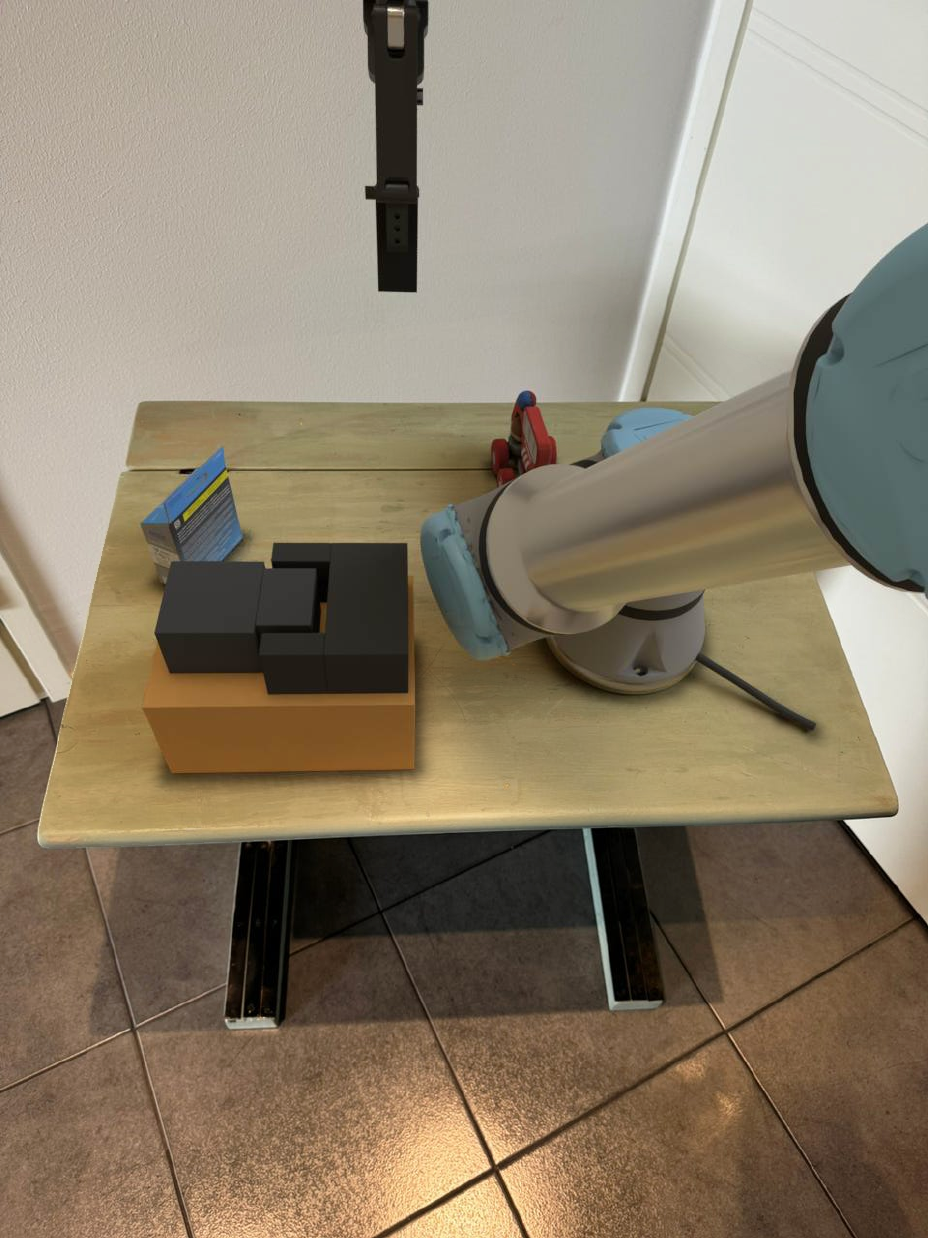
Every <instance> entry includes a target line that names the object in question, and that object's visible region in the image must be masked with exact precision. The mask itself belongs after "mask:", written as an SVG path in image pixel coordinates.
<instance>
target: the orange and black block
mask: <svg viewBox="0 0 928 1238" xmlns="http://www.w3.org/2000/svg"><path fill="white" fill-rule="evenodd" d="M408 551H409V550H408V542H273V544H272V551H271V558H270V559H271V560H270V564H271V568H315V569H316V573H317V581H318V589H319V597H320V605H321V617H320V629H319V633H262V634H261V642H260V649H259V658H260V662H261V667H262V671H263V673H169V670H168V668H167V665H166V663H165V660H164V657H163V655H162V652H161V649H160V647H159V644H158V642H157V641H156V644H155V648H154V653H153V658H152V661H151V666H150V671H149V675H148V679H147V684H146V688H145V693H144V697H143V703H142V706H141V708H142V711H143V713H144V715H145V717H146V720H147V722H148V724H149V727H150V729H151V731H152V733H153V735H154V737H155V739H156V742H157V745H158V746H159V749H160V751H161V753H162V755H163V758H164V760H165V762H166V764H167V767H168V769H169V771H170V773H171V774H206V773H207V774H209V773H210V774H212V773H216V774H217V773H219V774H220V773H271V772H277V773H278V772H329V771H331V772H333V771H339V772H340V771H390V770H392V771H394V770H396V771H397V770H414V769H415V732H416V731H415V730H416V726H415V725H416V722H415V721H416V683H415V681H416V680H415V679H416V677H415V676H416V675H415V674H416V673H415V672H416V671H415V609H414V608H415V607H414V606H415V605H414V604H415V603H414V598H415V597H414V576H413V575H409V567H408V565H409V564H408V563H409V557H408V554H409V553H408Z"/></svg>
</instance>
